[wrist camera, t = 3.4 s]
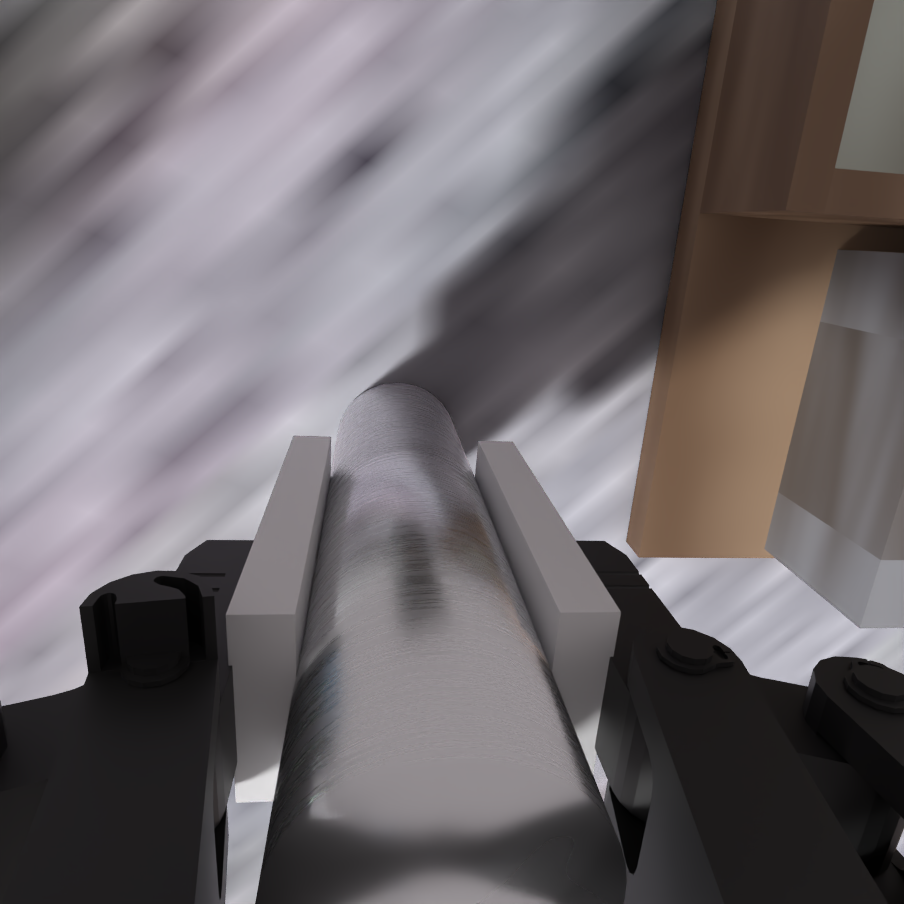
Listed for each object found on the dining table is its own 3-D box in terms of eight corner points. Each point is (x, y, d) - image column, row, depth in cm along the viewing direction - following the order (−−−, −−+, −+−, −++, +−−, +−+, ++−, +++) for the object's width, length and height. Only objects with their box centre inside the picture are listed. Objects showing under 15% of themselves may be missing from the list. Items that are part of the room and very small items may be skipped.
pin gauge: (337, 493, 18) (260, 1048, 6) (337, 380, 17) (246, 771, 5) (451, 495, 19) (600, 1017, 6) (459, 385, 17) (654, 755, 5)
